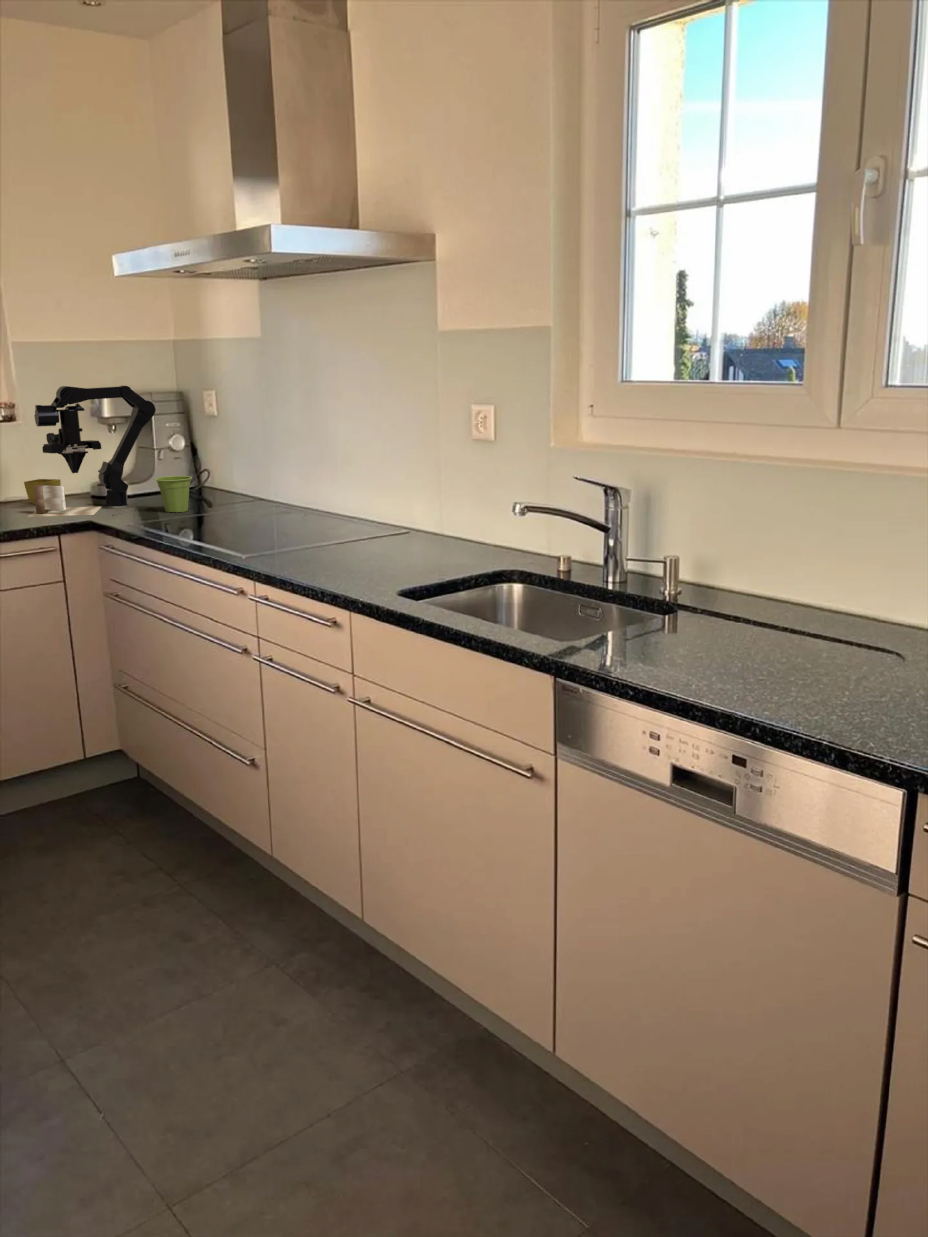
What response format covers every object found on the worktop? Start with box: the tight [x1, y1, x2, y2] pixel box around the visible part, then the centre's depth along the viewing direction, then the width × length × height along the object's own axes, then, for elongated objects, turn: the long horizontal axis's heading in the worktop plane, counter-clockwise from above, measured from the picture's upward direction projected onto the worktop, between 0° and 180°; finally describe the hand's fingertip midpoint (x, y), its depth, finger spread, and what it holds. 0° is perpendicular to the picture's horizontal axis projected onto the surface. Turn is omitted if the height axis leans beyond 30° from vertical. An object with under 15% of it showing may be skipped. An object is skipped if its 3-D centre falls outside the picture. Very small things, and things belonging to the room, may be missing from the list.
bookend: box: [33, 485, 67, 513], centre depth 330 cm, size 10×9×9 cm
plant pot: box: [155, 475, 193, 513], centre depth 339 cm, size 12×12×11 cm
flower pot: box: [23, 478, 62, 505], centre depth 352 cm, size 9×9×9 cm
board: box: [27, 506, 102, 518], centre depth 334 cm, size 20×18×1 cm
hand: (75, 473), depth 337 cm, fingers closed
